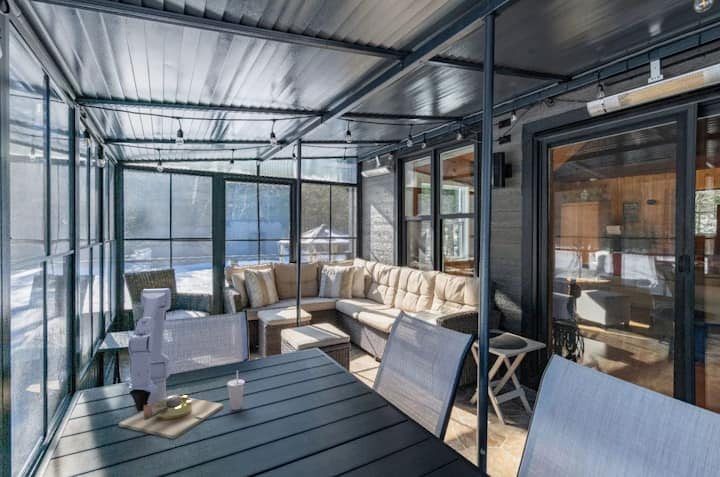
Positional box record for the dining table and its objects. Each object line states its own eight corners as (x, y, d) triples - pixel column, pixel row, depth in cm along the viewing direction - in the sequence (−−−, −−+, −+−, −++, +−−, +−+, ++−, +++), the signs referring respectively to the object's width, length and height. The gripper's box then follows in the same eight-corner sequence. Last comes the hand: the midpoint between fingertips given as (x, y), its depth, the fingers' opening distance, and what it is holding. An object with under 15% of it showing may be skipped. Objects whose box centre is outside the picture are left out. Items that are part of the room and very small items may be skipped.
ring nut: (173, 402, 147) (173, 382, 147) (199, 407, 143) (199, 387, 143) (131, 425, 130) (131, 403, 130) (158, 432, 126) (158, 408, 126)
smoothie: (239, 412, 142) (239, 374, 142) (223, 410, 144) (223, 373, 143) (248, 404, 149) (247, 368, 148) (232, 403, 150) (232, 367, 150)
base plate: (118, 426, 132) (118, 408, 132) (173, 397, 155) (173, 382, 155) (175, 439, 124) (174, 420, 124) (224, 406, 147) (224, 391, 147)
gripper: (116, 370, 131) (116, 410, 131) (143, 378, 124) (143, 420, 124) (136, 364, 137) (136, 402, 137) (163, 371, 130) (163, 411, 131)
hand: (141, 410), depth 131 cm, fingers closed
